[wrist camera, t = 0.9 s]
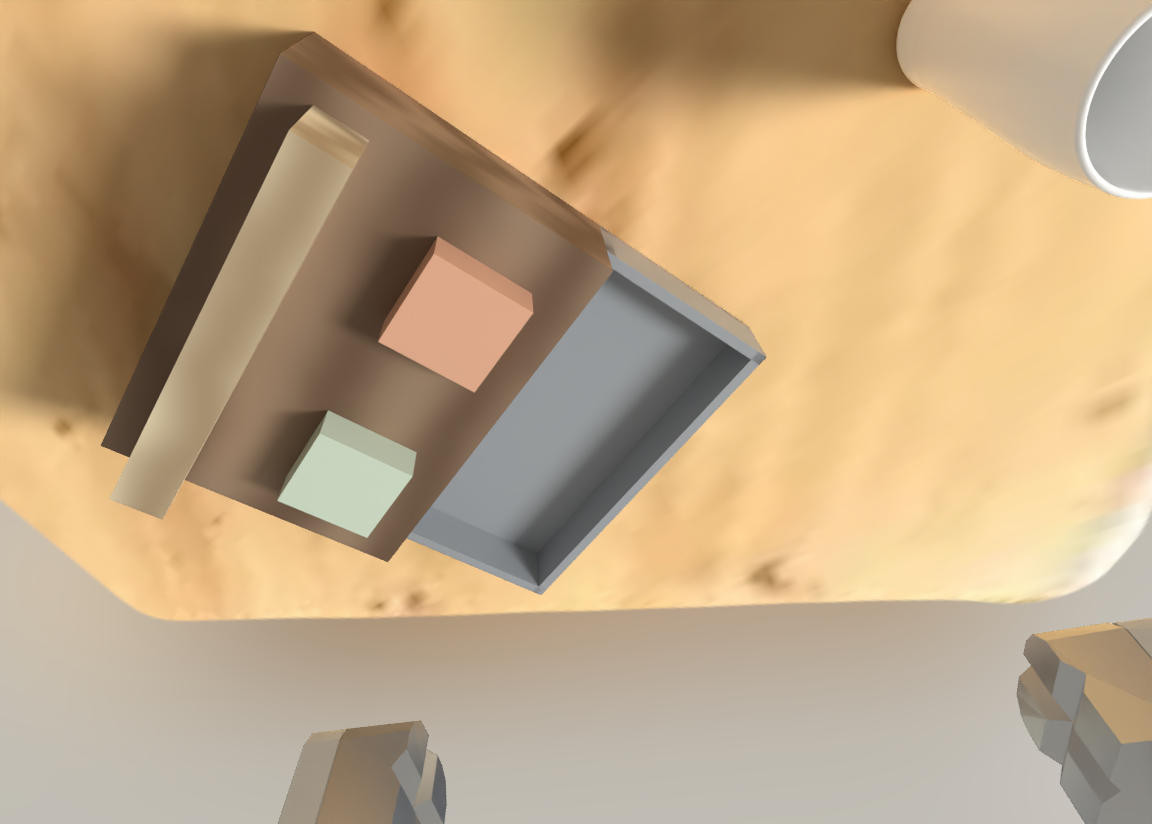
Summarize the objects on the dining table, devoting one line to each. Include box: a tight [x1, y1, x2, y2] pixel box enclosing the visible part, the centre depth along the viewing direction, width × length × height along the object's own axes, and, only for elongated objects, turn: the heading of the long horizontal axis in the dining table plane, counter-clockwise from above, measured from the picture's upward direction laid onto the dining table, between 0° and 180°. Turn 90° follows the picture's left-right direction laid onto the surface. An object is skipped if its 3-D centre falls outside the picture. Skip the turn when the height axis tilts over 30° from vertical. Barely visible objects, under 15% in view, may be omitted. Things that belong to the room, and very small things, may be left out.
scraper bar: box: [110, 105, 369, 519], centre depth 32 cm, size 2×20×4 cm, turn 144°
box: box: [407, 226, 766, 595], centre depth 44 cm, size 11×22×4 cm, turn 144°
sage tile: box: [277, 411, 417, 538], centre depth 38 cm, size 5×5×2 cm
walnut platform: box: [101, 32, 613, 562], centre depth 38 cm, size 16×22×6 cm
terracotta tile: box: [378, 236, 533, 393], centre depth 34 cm, size 5×5×2 cm
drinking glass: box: [896, 0, 1152, 199], centre depth 29 cm, size 7×7×15 cm
